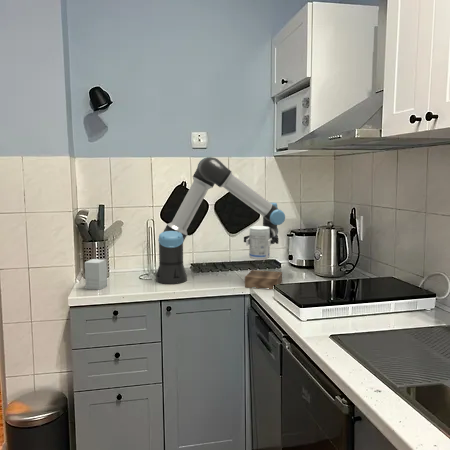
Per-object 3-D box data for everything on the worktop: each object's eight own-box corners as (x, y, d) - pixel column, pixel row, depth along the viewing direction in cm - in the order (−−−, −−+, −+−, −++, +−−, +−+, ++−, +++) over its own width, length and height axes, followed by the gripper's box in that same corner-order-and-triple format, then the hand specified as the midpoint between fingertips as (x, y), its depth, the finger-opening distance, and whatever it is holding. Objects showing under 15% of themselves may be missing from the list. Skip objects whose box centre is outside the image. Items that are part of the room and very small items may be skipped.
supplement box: (107, 286, 218) (107, 259, 216) (99, 290, 211) (98, 262, 209) (93, 284, 220) (92, 258, 218) (85, 289, 213) (84, 261, 211)
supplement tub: (256, 255, 227) (257, 225, 225) (273, 257, 221) (273, 227, 219) (245, 258, 220) (245, 227, 217) (261, 261, 214) (262, 229, 212)
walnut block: (244, 287, 216) (245, 276, 216) (251, 279, 230) (251, 269, 229) (277, 289, 212) (277, 279, 211) (282, 282, 226) (282, 272, 225)
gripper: (288, 243, 234) (281, 252, 213) (245, 241, 240) (234, 249, 218) (288, 228, 233) (281, 236, 211) (245, 227, 239) (234, 234, 217)
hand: (257, 243), depth 215 cm, fingers closed on supplement tub, 9 cm apart
